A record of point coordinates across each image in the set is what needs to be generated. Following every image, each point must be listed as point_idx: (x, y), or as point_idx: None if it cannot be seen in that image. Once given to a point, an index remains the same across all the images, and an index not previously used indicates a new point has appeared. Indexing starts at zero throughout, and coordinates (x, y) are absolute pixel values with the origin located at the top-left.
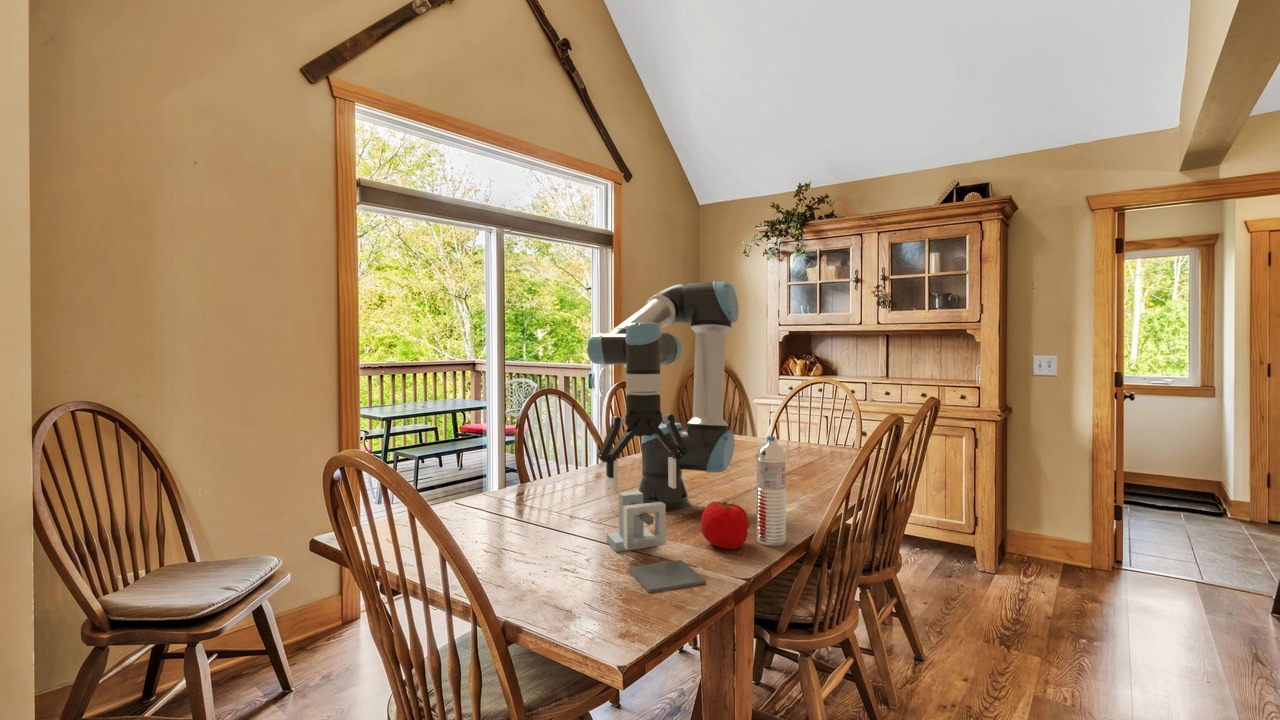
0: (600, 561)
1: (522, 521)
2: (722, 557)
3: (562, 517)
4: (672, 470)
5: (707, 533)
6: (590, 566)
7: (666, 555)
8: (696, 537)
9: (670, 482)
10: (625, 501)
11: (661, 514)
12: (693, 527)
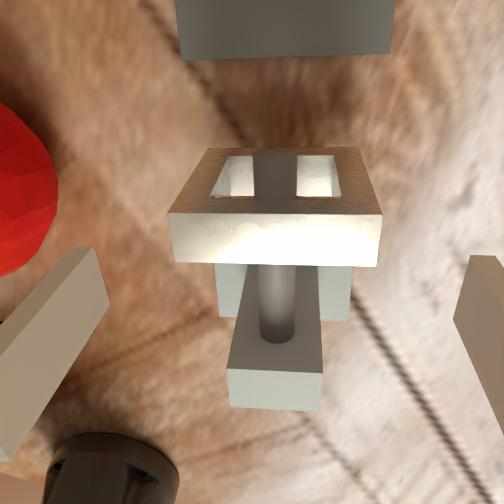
0: (434, 168)
1: (482, 486)
2: (32, 54)
3: (379, 476)
4: (34, 327)
5: (40, 156)
6: (487, 138)
7: (211, 142)
8: None
9: (90, 296)
10: (310, 353)
11: (199, 193)
12: None
